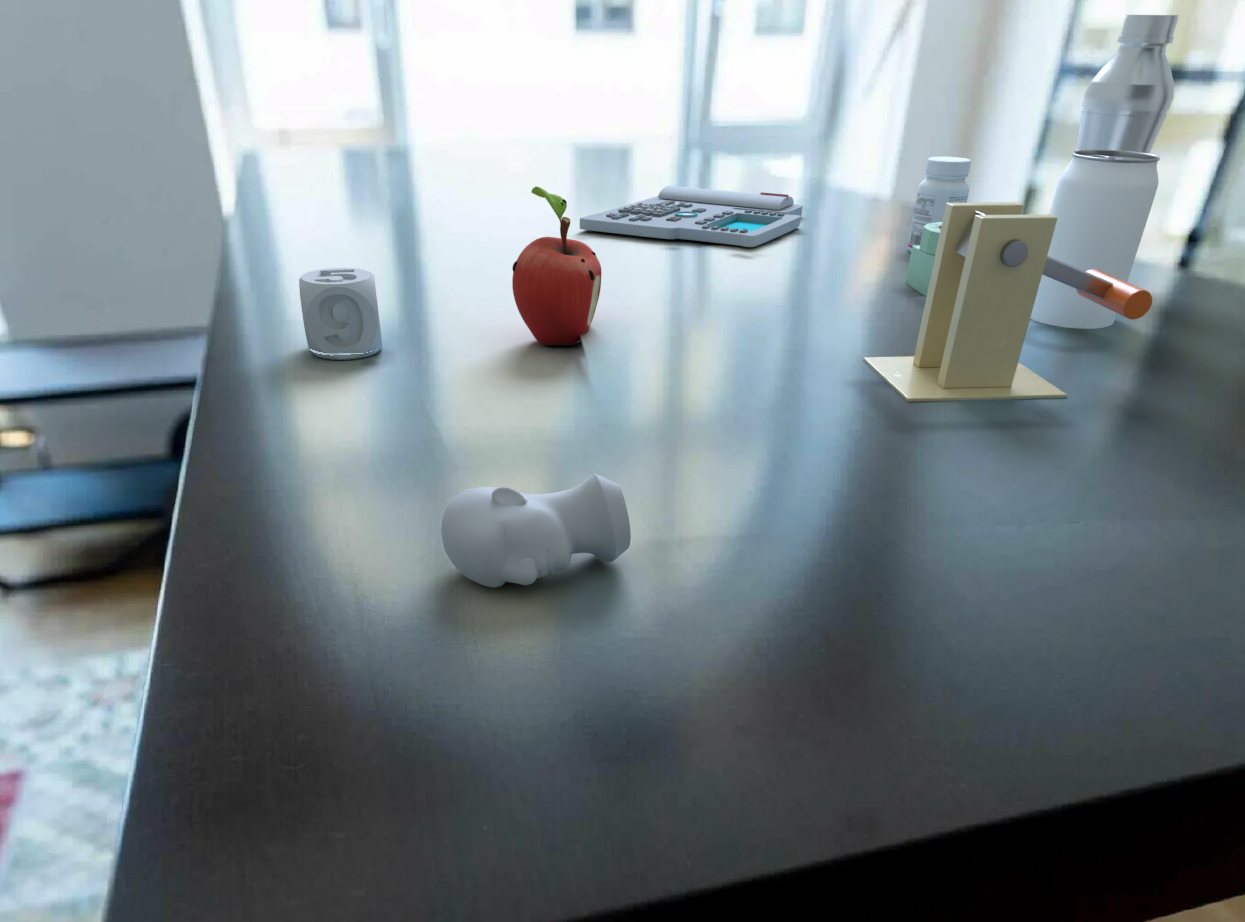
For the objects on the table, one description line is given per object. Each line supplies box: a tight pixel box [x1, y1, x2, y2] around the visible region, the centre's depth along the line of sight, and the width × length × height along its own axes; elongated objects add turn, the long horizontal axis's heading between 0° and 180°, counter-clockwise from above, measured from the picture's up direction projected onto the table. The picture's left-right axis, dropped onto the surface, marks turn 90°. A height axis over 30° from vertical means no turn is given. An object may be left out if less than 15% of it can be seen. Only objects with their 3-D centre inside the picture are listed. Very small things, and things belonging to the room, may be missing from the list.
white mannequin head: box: [441, 473, 632, 588], centre depth 39 cm, size 4×8×5 cm
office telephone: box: [579, 185, 803, 248], centre depth 105 cm, size 23×3×20 cm
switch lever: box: [955, 211, 1153, 320], centre depth 56 cm, size 11×6×2 cm, turn 95°
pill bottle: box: [907, 156, 972, 253], centre depth 92 cm, size 5×5×8 cm
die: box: [298, 267, 383, 361], centre depth 65 cm, size 5×5×5 cm
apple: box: [511, 185, 602, 346], centre depth 66 cm, size 8×7×10 cm
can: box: [1030, 150, 1161, 330], centre depth 68 cm, size 6×6×12 cm
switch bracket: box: [862, 201, 1068, 403], centre depth 57 cm, size 10×8×11 cm
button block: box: [905, 222, 942, 297], centre depth 80 cm, size 9×8×5 cm
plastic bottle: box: [1075, 14, 1180, 154], centre depth 77 cm, size 6×7×20 cm
